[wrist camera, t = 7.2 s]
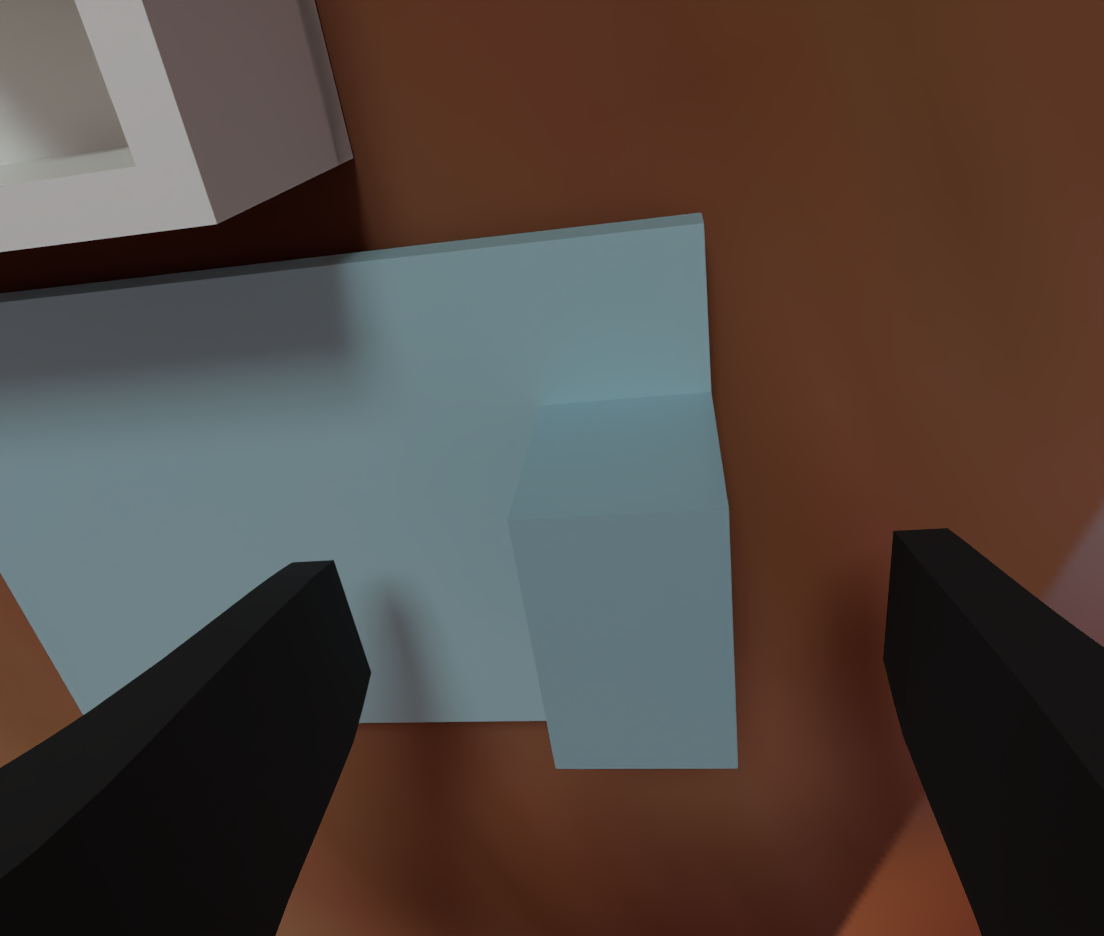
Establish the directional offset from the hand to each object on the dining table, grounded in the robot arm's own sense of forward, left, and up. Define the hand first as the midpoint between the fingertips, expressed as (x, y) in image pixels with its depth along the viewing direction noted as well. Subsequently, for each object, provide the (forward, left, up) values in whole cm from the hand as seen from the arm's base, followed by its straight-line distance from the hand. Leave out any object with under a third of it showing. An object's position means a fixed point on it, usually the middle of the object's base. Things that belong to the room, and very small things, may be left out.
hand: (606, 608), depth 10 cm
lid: (-5, 0, -3) cm, 6 cm away
